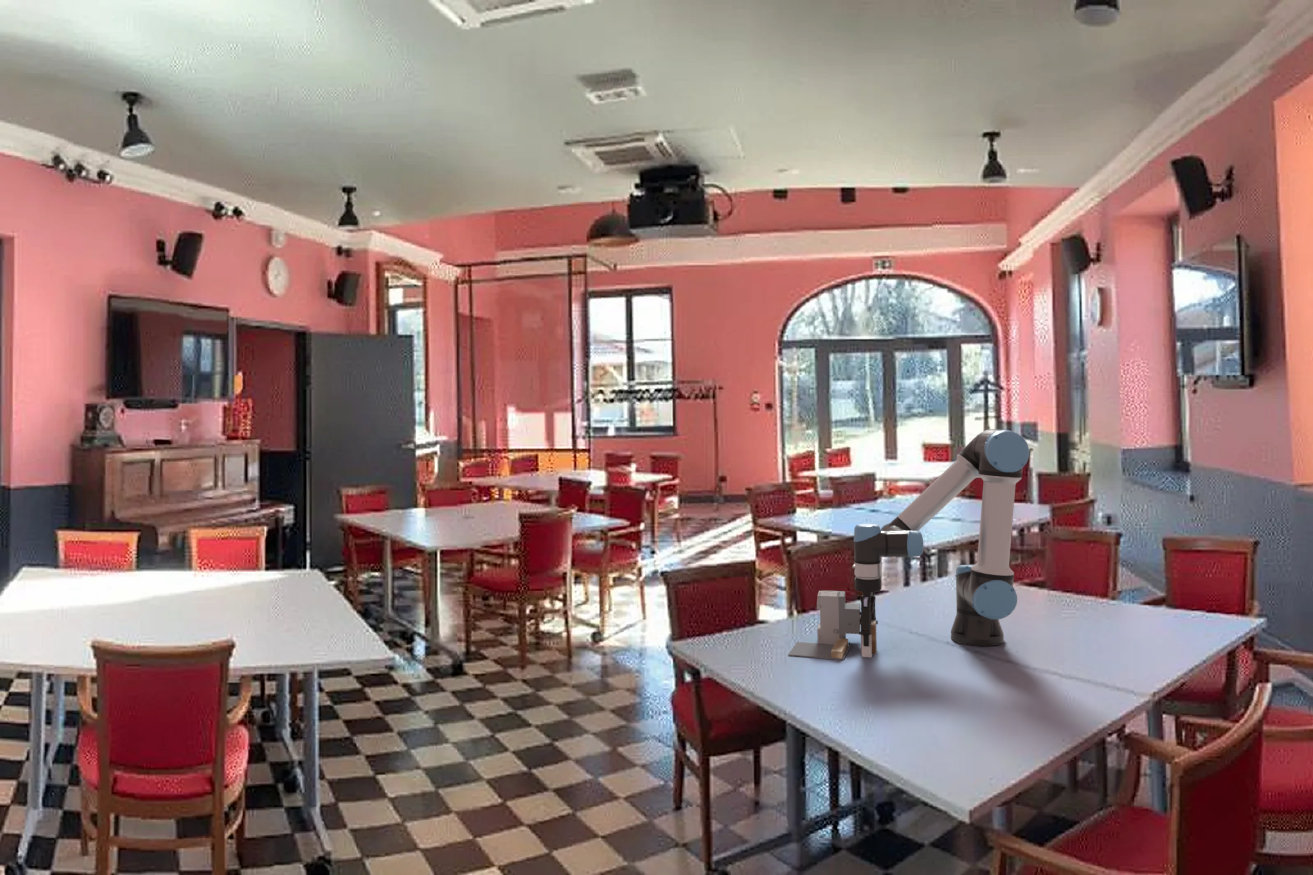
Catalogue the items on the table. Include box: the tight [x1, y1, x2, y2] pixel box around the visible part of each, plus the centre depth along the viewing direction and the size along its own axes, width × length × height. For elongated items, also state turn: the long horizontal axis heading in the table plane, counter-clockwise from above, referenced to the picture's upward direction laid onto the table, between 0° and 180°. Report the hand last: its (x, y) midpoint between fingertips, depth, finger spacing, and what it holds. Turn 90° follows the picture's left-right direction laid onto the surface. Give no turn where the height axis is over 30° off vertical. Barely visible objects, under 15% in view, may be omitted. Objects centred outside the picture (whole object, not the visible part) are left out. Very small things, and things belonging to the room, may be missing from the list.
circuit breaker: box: [816, 590, 861, 645], centre depth 259 cm, size 8×14×15 cm, turn 75°
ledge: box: [831, 638, 849, 659], centre depth 248 cm, size 3×14×2 cm, turn 160°
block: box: [860, 620, 878, 656], centre depth 248 cm, size 4×4×9 cm
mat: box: [787, 641, 851, 661], centre depth 250 cm, size 16×14×1 cm
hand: (868, 651), depth 248 cm, fingers open, 11 cm apart
